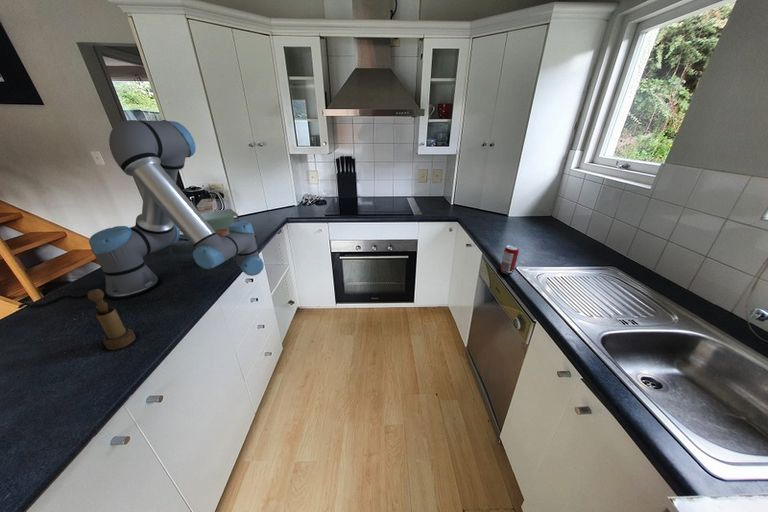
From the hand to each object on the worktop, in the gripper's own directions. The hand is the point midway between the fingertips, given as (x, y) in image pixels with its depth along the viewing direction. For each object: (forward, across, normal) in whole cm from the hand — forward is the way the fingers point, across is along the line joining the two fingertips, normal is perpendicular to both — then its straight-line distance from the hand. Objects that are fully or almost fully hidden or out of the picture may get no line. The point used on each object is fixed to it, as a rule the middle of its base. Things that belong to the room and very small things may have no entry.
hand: (227, 238), depth 124 cm
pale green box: (+13, 0, -10) cm, 16 cm away
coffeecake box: (+39, +1, -10) cm, 40 cm away
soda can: (-90, +88, -11) cm, 127 cm away
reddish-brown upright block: (+12, 0, -9) cm, 15 cm away
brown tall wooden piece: (-37, -40, -10) cm, 56 cm away
